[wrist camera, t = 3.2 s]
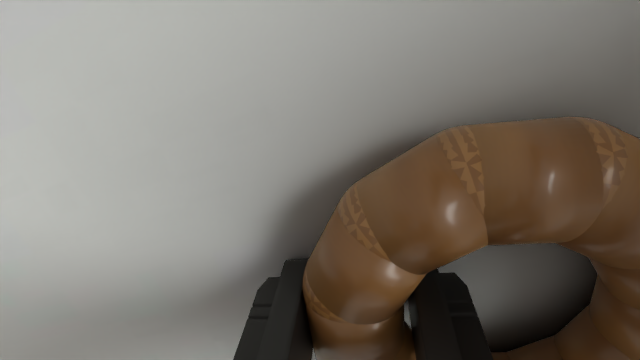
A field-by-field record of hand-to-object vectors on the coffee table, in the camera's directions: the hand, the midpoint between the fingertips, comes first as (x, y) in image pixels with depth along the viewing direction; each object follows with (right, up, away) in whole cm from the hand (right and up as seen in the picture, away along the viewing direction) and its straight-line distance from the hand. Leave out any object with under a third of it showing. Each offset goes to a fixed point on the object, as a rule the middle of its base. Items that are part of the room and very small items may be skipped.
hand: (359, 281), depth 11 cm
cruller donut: (+3, 0, -2) cm, 4 cm away
